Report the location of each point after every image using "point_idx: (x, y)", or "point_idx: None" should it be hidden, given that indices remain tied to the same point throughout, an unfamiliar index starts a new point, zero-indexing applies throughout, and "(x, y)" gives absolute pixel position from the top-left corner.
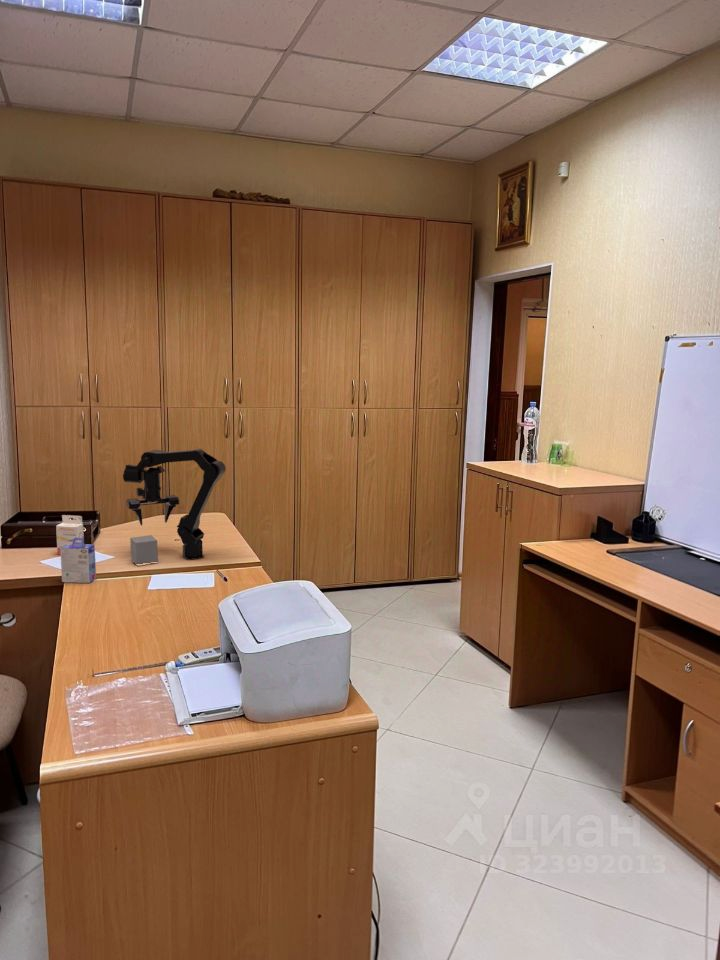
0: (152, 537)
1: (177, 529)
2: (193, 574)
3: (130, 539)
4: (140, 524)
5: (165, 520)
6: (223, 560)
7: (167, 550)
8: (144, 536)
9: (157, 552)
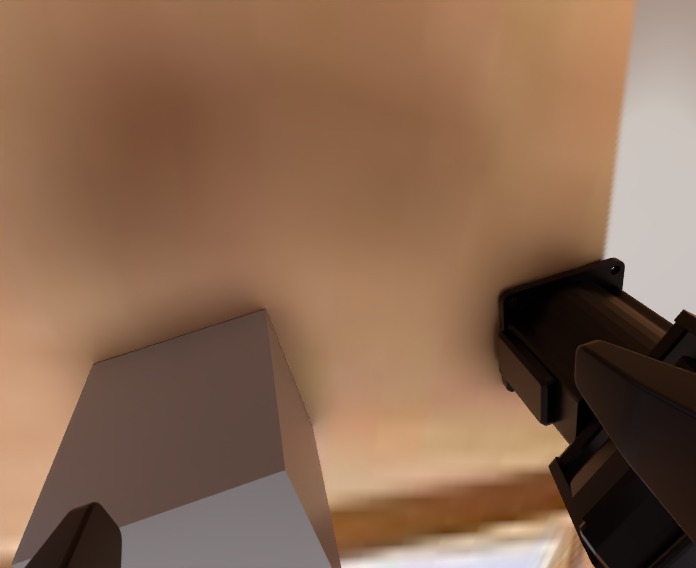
0: (302, 540)
1: (605, 565)
2: (472, 560)
3: (23, 549)
4: (72, 519)
5: (604, 411)
6: None
7: (407, 117)
8: (201, 516)
9: (325, 494)
